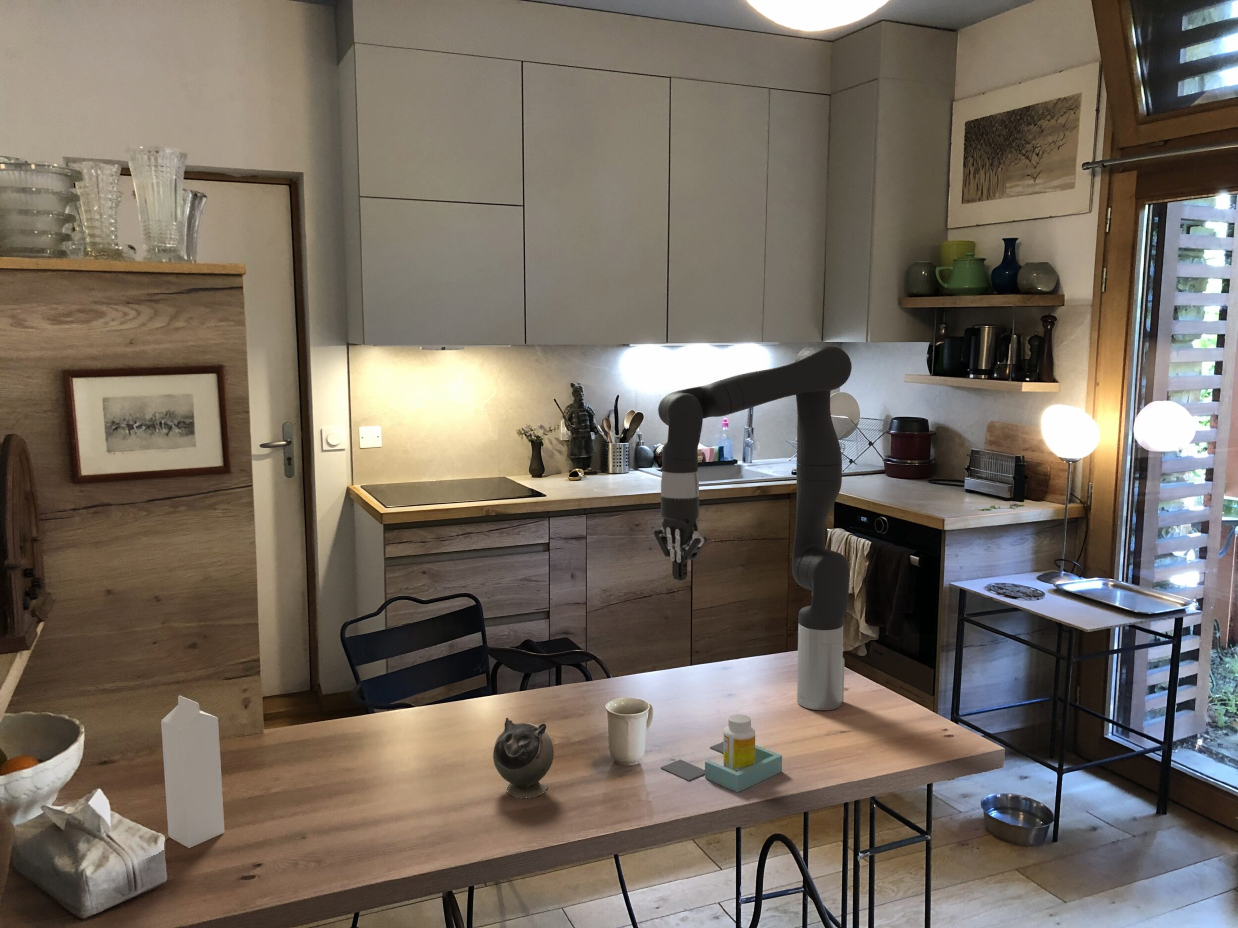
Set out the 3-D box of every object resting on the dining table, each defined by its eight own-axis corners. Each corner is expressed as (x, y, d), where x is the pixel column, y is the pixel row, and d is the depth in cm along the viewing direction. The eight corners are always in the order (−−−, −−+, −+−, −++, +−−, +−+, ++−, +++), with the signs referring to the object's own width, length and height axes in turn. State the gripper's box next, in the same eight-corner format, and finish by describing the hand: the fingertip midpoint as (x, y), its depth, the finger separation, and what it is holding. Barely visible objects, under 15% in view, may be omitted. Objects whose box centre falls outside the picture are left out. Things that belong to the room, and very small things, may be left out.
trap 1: (680, 760, 177) (680, 759, 177) (708, 772, 172) (708, 771, 172) (660, 768, 174) (660, 767, 174) (688, 781, 169) (688, 779, 169)
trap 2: (727, 740, 186) (727, 739, 186) (755, 751, 181) (755, 750, 181) (709, 747, 183) (709, 746, 183) (738, 759, 177) (738, 758, 177)
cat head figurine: (490, 804, 161) (552, 802, 161) (487, 735, 160) (550, 733, 159) (499, 777, 171) (557, 775, 171) (495, 712, 170) (554, 710, 169)
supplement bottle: (761, 773, 172) (761, 717, 171) (742, 783, 168) (743, 726, 167) (735, 763, 176) (736, 709, 174) (716, 773, 172) (717, 718, 170)
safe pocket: (749, 758, 178) (749, 742, 178) (781, 771, 172) (782, 755, 172) (704, 777, 170) (705, 761, 170) (737, 792, 164) (737, 775, 164)
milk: (204, 822, 155) (196, 689, 153) (225, 833, 152) (218, 697, 149) (167, 837, 150) (159, 700, 148) (188, 849, 147) (180, 708, 144)
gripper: (717, 495, 189) (716, 582, 191) (669, 488, 199) (669, 570, 201) (691, 499, 184) (690, 588, 186) (643, 492, 194) (643, 576, 196)
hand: (679, 579), depth 193 cm, fingers closed
